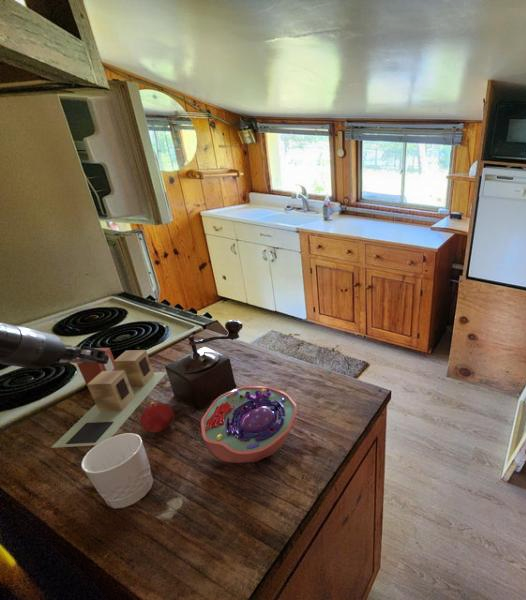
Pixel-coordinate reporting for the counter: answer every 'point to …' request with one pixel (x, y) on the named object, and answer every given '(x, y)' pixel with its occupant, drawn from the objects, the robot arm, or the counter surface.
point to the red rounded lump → (156, 417)
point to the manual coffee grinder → (203, 372)
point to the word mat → (105, 419)
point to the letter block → (96, 366)
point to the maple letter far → (135, 367)
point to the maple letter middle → (111, 391)
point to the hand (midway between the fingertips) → (87, 360)
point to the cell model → (248, 423)
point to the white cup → (119, 470)
